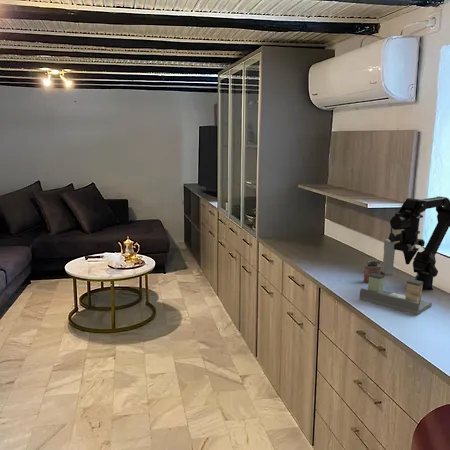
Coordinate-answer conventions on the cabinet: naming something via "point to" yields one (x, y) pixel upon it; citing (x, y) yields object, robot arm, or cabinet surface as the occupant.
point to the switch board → (394, 301)
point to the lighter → (371, 269)
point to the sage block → (376, 282)
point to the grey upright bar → (388, 257)
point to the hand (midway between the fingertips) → (407, 264)
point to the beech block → (414, 290)
